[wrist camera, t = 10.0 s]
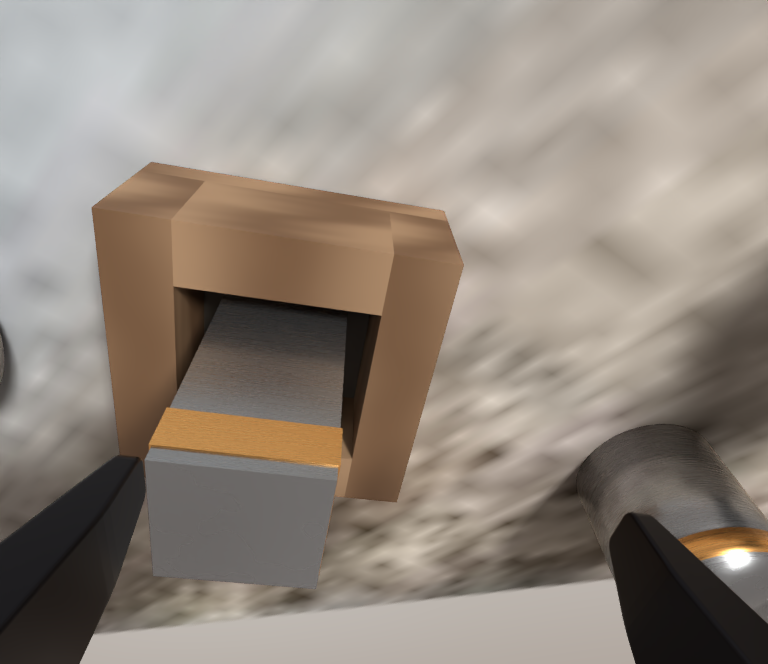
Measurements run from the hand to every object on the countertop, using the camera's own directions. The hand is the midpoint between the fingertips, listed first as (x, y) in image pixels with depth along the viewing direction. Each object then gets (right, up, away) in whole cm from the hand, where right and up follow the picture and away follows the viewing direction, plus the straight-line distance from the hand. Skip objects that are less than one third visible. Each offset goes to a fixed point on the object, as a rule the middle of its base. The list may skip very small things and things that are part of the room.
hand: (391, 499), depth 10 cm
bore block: (-4, +4, +11) cm, 12 cm away
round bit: (+13, -4, +17) cm, 21 cm away
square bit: (-4, +3, +10) cm, 11 cm away
